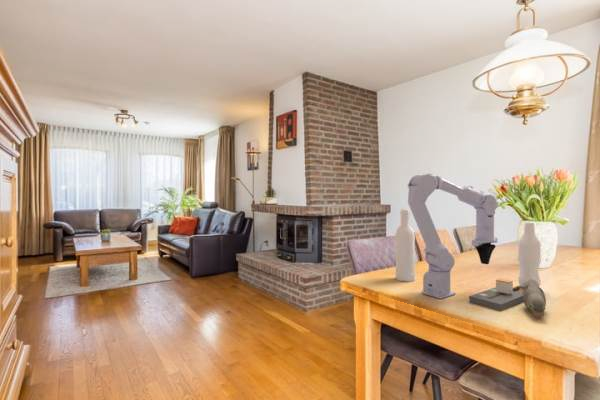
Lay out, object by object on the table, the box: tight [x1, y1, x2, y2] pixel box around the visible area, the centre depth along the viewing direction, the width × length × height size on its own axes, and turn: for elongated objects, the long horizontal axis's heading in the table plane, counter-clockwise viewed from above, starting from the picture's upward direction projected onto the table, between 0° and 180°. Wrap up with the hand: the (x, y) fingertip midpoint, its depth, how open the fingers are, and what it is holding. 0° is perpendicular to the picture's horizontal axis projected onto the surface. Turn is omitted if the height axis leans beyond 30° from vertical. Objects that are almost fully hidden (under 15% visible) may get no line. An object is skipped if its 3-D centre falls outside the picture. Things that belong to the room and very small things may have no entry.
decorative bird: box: [522, 279, 547, 321], centre depth 100 cm, size 6×17×8 cm, turn 150°
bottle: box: [395, 208, 416, 283], centre depth 137 cm, size 8×8×30 cm
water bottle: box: [517, 222, 542, 289], centre depth 124 cm, size 7×7×25 cm
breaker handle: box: [495, 278, 514, 294], centre depth 111 cm, size 3×4×4 cm
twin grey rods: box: [513, 285, 521, 292], centre depth 117 cm, size 12×6×1 cm, turn 123°
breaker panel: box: [468, 286, 524, 312], centre depth 109 cm, size 18×10×2 cm, turn 123°
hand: (484, 263), depth 119 cm, fingers closed
